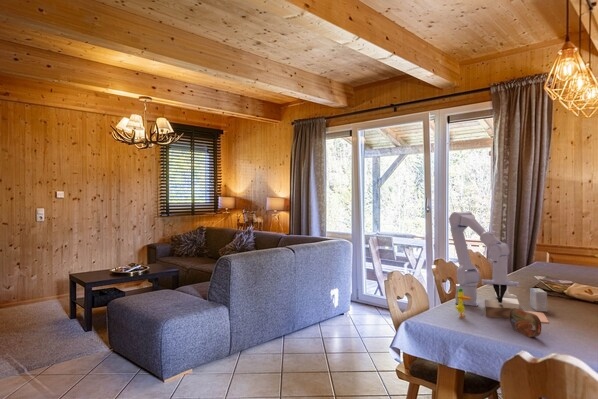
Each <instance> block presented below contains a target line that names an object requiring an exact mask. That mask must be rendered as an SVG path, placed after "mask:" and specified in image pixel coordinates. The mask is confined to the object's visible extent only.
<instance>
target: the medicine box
mask: <svg viewBox="0 0 598 399" xmlns="http://www.w3.org/2000/svg"><path fill="white" fill-rule="evenodd" d="M529 307H530V308H532V309H533V310H535V312H542V313H544V312H546V313H547V312H548V292H547V291H544V290H543V289H542V288H540V287H539V288H535V287H532V288H531V287H530V288H529Z"/></svg>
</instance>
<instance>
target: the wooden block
mask: <svg viewBox="0 0 598 399" xmlns="http://www.w3.org/2000/svg"><path fill="white" fill-rule="evenodd" d="M512 309H514V308H504V307H503V305H502V303H499V302H498V300H494V299H493V300H492V299H484V311H485V314H484V315H485V317H491V318H492V317H493V318H500V319H501V318H503V319H510V317H509V316H510V312H511V310H512ZM519 309H523V307H522V304H521V302H519Z"/></svg>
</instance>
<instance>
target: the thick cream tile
mask: <svg viewBox="0 0 598 399" xmlns="http://www.w3.org/2000/svg"><path fill="white" fill-rule="evenodd" d="M519 303H520V301H519V300H518V298H517V299H512V298H503V299H502V305H503V307H504V308H517V309H519Z"/></svg>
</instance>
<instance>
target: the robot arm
mask: <svg viewBox="0 0 598 399" xmlns="http://www.w3.org/2000/svg"><path fill="white" fill-rule="evenodd" d="M448 222H449V225H450V233H451V238H452V241H453V246H454V248H455V253H456V258H457V261H458V264H459V265H458V267H457V268H456V270H455V271H456V280H457V282H458V283H456V284H455V295H454V297H455V305H458V304H459V300H458V298H457V297H458V291H459V288H462V291H463V296H467V297H470V298H471V299H470V300H463V306H465V305H466V306H474V307H477V306H478V298H477V297H478V292H477V290H478V288H477V287H478V286H477V285H479V283H480V281H481V285H483V286H484V285H487V286H488V285H491V286H492V287H493V289H494V293H495V292H496V294H497V297H498V298H497V297H496V298H497V301H498V302H499V303H502V299H503V296H504V293H505V291H506V290H507V286H508V287H515V288H520V282H519V281H512V280H508V256H509V255H510V253H511V248H510V246H509V245H508V243H507V242H502V241H501V240H500V239H498V238H497V237H496V236H495V234H494V233H493V232H491V231H486V229H484V227H483V226H482V225H481V224H480V223H479V222H478V220H476V216H475V215H474V214H473V213H472V212H471V211H453V212H451V214H450V215H449V217H448ZM468 227H469V228H470V229H471V230H472V231H473V232H474V233H476V235H478V236H479V240H480V242H482V244H483V245H484V246H486V248H487V249H488V251H489V254H490V256H491V261H492V279H482V278H481V274H480V273H479V271H478V268H477V267H476V266H475V265H474V264H473V263H472V260H471V257H470V252H469V249H468V245H467V241H466V238H465V234H464V232H465V230H466V229H467V228H468ZM504 284H505V285H504Z"/></svg>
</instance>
